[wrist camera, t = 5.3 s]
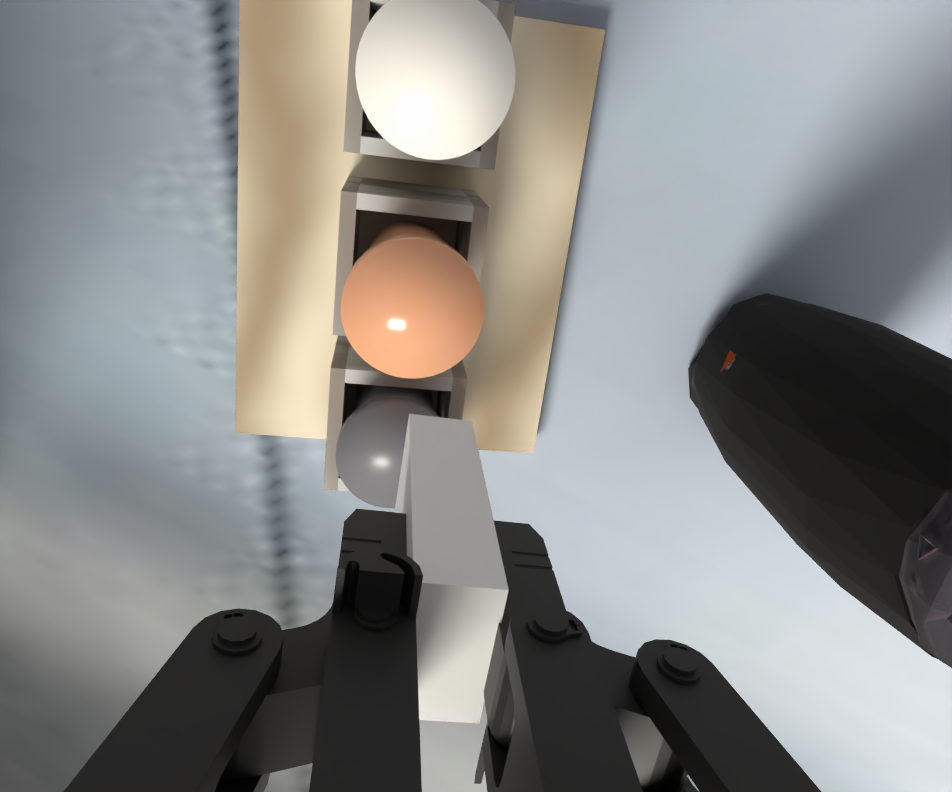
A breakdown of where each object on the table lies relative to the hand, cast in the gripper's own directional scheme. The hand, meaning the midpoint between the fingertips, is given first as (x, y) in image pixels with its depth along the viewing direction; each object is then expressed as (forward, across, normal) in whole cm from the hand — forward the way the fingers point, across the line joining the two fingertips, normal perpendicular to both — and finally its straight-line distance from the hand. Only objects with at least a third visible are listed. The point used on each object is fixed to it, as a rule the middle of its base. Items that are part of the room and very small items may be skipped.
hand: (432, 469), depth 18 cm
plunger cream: (+14, -1, +9) cm, 17 cm away
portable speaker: (+20, +18, -2) cm, 27 cm away
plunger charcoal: (+18, 0, -5) cm, 18 cm away
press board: (+20, -1, +2) cm, 20 cm away
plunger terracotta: (+14, -1, +2) cm, 14 cm away
